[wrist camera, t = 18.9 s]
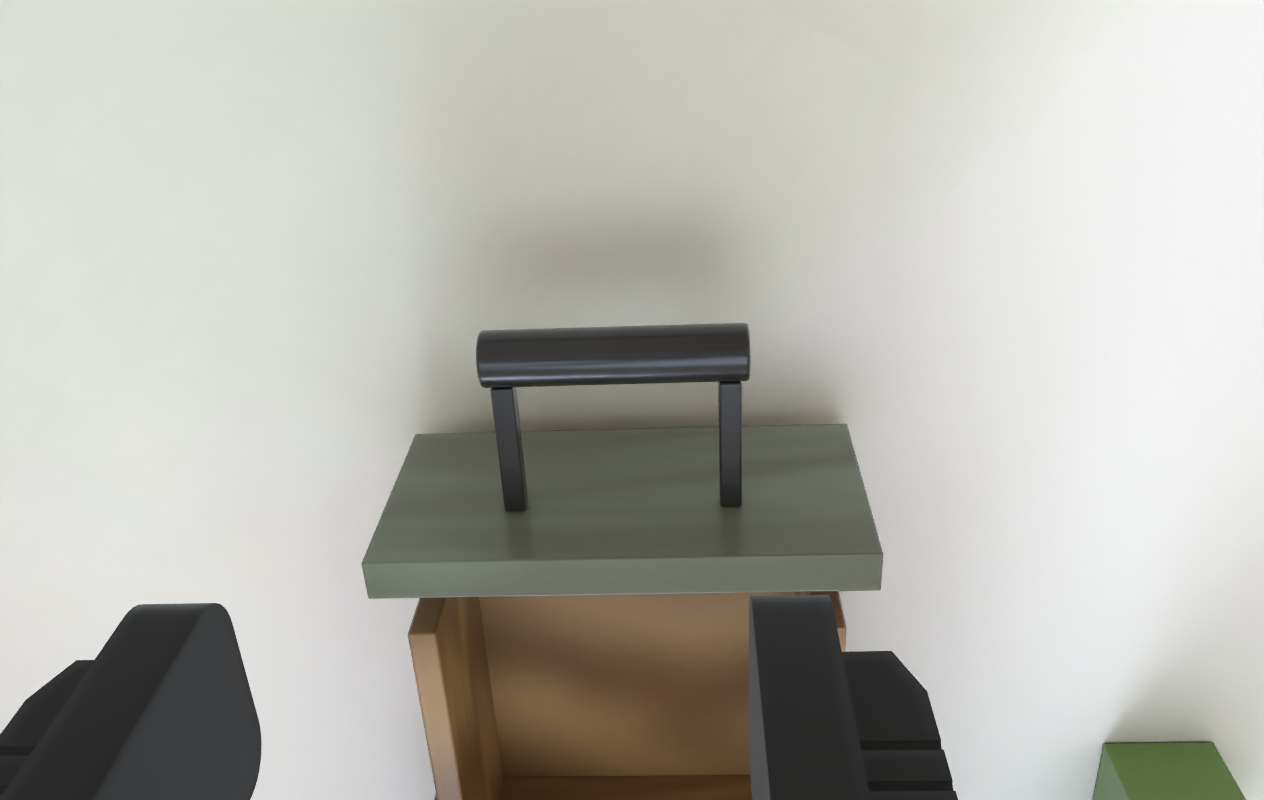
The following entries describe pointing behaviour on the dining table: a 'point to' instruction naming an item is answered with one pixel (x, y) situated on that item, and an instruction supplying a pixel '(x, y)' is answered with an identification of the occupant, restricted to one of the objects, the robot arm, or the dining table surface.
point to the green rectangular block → (1164, 773)
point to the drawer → (609, 572)
